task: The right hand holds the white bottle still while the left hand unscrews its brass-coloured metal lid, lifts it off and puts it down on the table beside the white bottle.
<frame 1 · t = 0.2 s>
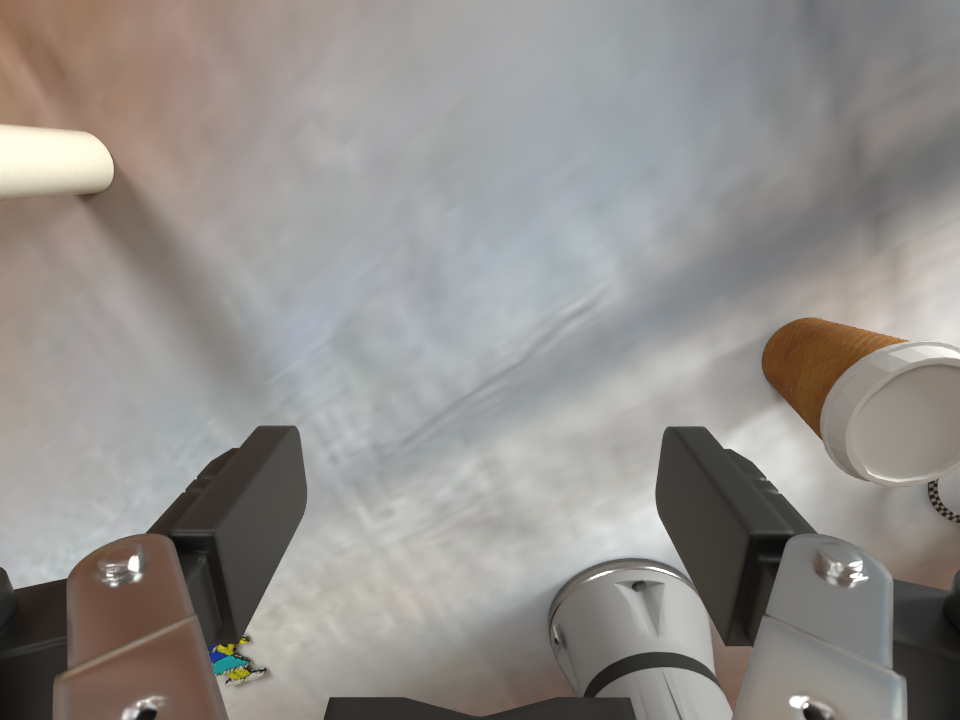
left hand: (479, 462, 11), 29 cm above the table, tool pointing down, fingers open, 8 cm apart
white bottle: (84, 162, 37), on the table
toy 2: (191, 631, 52), on the table
disposable coffee cup: (799, 354, 42), on the table
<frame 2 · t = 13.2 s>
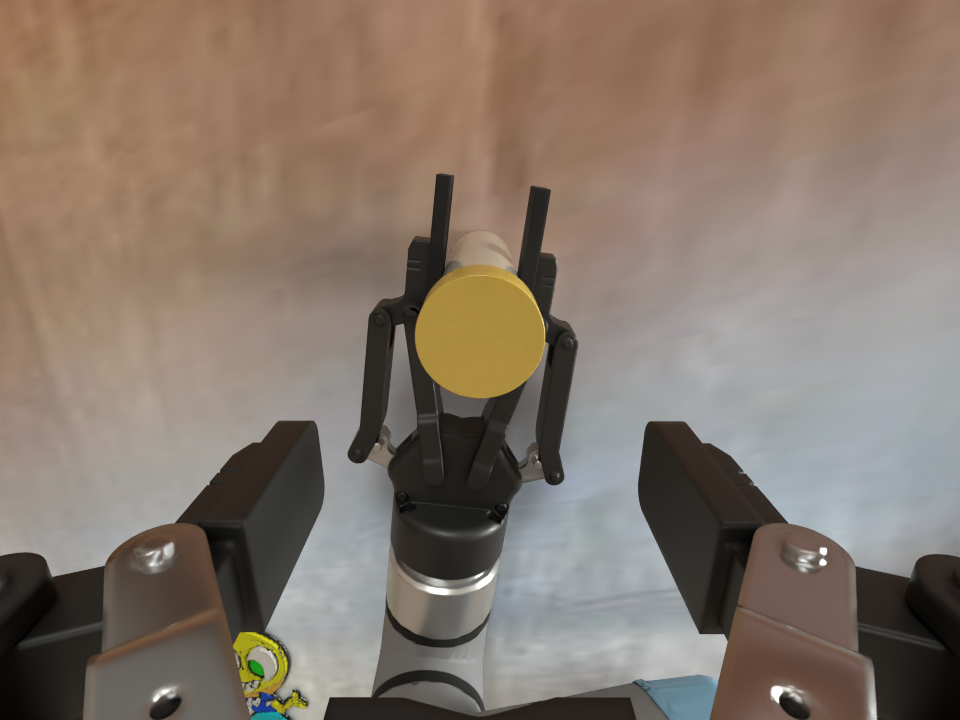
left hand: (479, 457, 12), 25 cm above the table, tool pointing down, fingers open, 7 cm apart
right hand: (493, 182, 27), fingers closed on white bottle, 4 cm apart
white bottle: (480, 262, 35), on the table, touching right hand
lid: (480, 336, 20), point 16 cm above the table, screwed on, not yet turned
toy 2: (253, 677, 49), on the table
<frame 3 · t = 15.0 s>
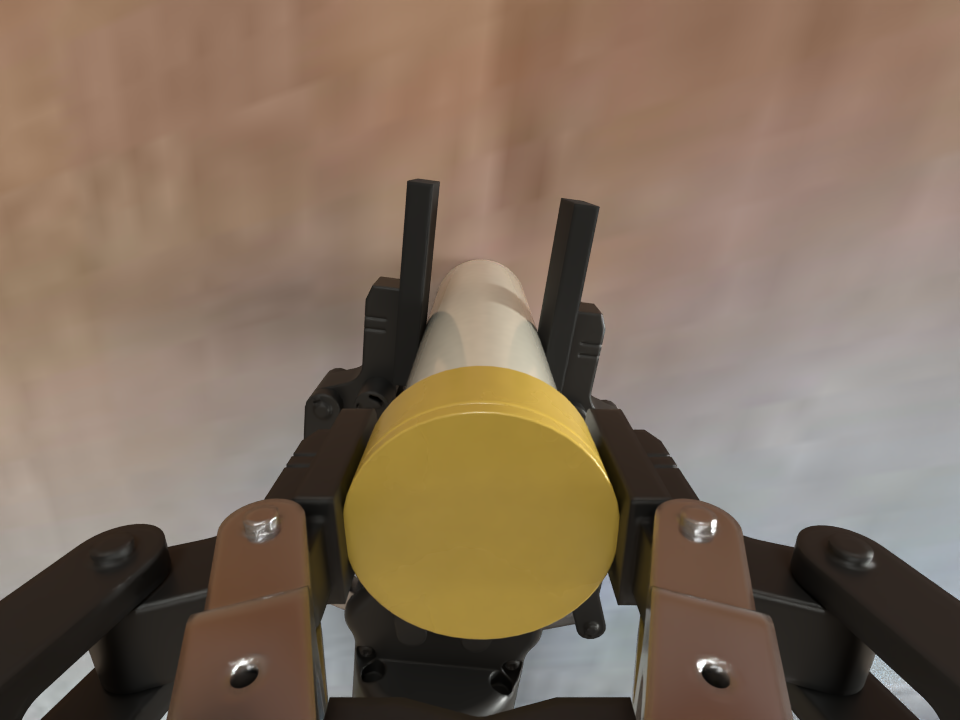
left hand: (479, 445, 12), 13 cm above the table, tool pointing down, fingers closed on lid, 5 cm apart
white bottle: (480, 303, 24), on the table, touching right hand
lid: (481, 524, 9), point 16 cm above the table, screwed on, not yet turned, touching left hand
when the left hand's fingers open (13 cm above the table, at t = 16.6 s): lid stays where it is, point 16 cm above the table.
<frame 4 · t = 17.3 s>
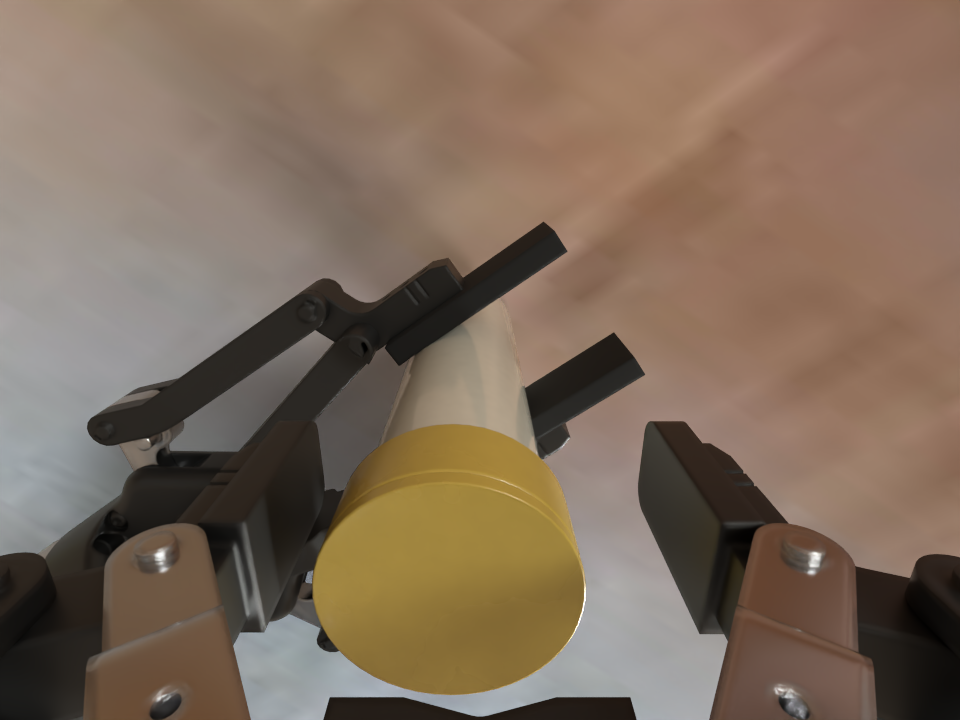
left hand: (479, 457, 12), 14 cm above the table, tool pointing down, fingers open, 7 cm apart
white bottle: (467, 326, 25), on the table, touching right hand
lid: (450, 584, 10), point 16 cm above the table, turned 90° so far, risen 0.2 cm, still on its thread
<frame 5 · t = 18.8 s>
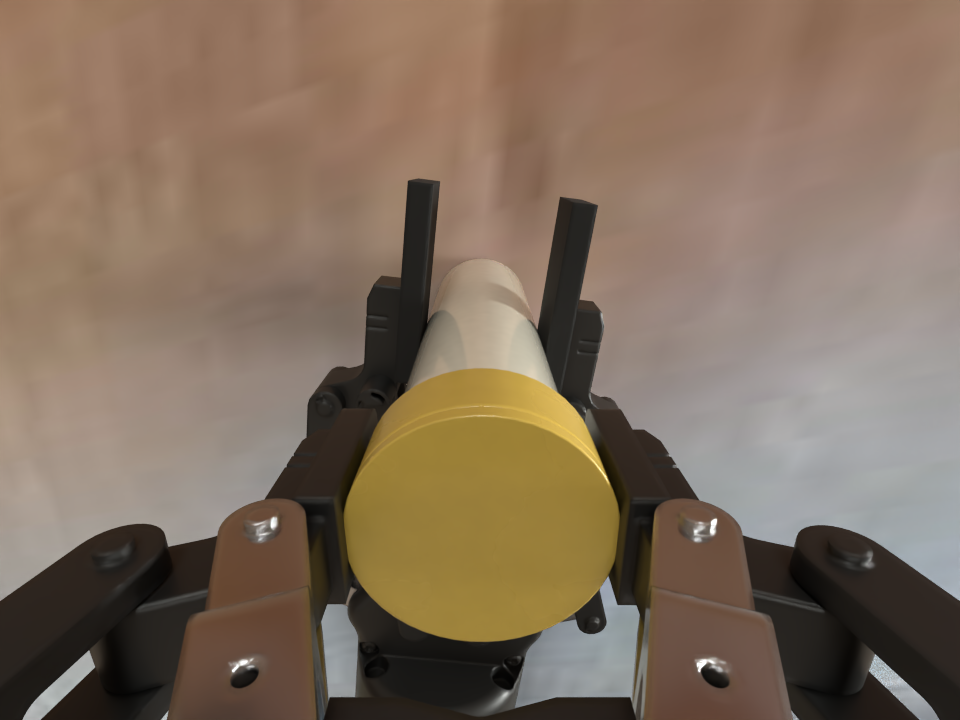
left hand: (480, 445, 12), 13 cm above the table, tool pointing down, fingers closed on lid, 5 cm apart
white bottle: (480, 302, 25), on the table, touching right hand
lid: (481, 526, 9), point 16 cm above the table, turned 90° so far, risen 0.2 cm, still on its thread, touching left hand
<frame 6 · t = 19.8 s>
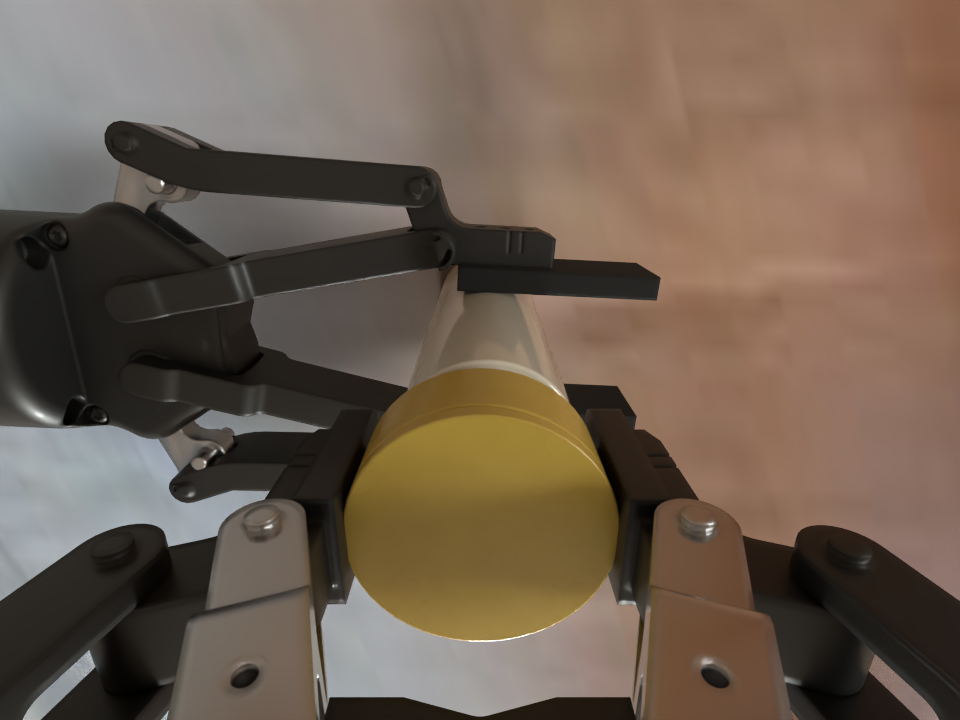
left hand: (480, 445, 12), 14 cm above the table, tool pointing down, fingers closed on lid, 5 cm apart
right hand: (633, 347, 19), fingers closed on white bottle, 4 cm apart
white bottle: (485, 297, 25), on the table, touching right hand
lid: (481, 526, 9), point 17 cm above the table, off its thread, touching left hand
when the left hand's fingers open (0 cm above the table, at t = 25.1 s): lid drops 2 cm, point 2 cm above the table.
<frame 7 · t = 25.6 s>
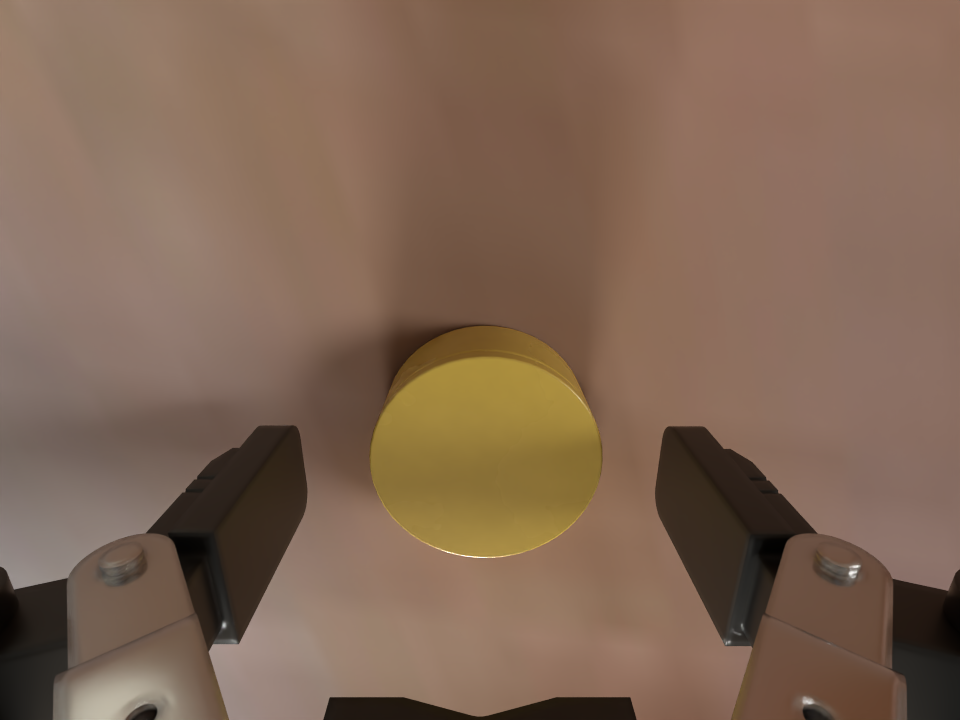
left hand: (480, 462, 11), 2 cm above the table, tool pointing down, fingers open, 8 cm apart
lid: (485, 456, 11), point 2 cm above the table, off its thread
when the right hand's fingers open (7 cm above the table, at t = 26.0 s): white bottle stays where it is, on the table.
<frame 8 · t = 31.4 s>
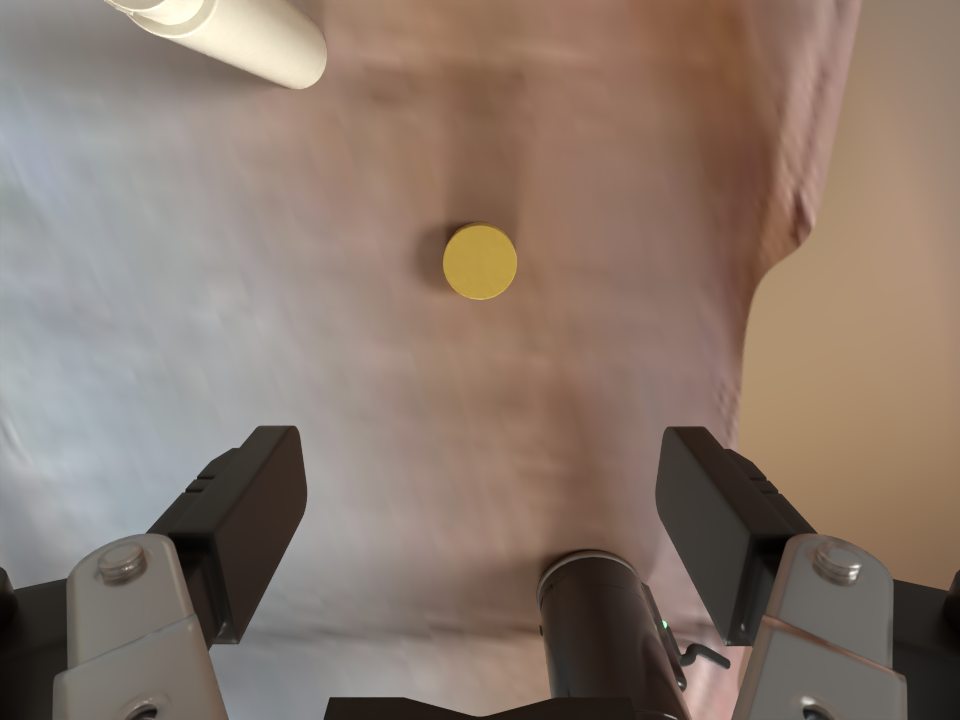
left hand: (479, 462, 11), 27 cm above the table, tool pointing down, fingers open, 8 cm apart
white bottle: (293, 51, 32), on the table
lid: (479, 262, 35), point 2 cm above the table, off its thread
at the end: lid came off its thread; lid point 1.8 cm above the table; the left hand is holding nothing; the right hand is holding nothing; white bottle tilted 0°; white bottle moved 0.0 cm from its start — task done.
